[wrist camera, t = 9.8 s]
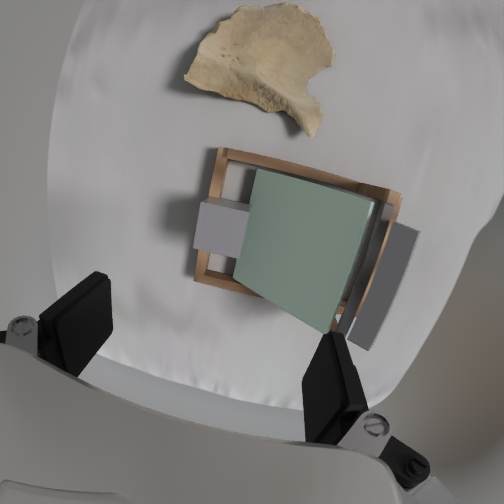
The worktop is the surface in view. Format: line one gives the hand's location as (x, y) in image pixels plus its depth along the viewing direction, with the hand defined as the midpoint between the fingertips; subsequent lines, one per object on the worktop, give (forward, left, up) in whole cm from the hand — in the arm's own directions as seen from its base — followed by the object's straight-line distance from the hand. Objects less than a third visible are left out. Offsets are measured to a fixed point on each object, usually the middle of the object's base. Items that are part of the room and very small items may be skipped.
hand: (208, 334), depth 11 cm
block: (+1, 0, -20) cm, 20 cm away
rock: (-20, -1, -25) cm, 32 cm away
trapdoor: (+1, +8, -18) cm, 20 cm away
